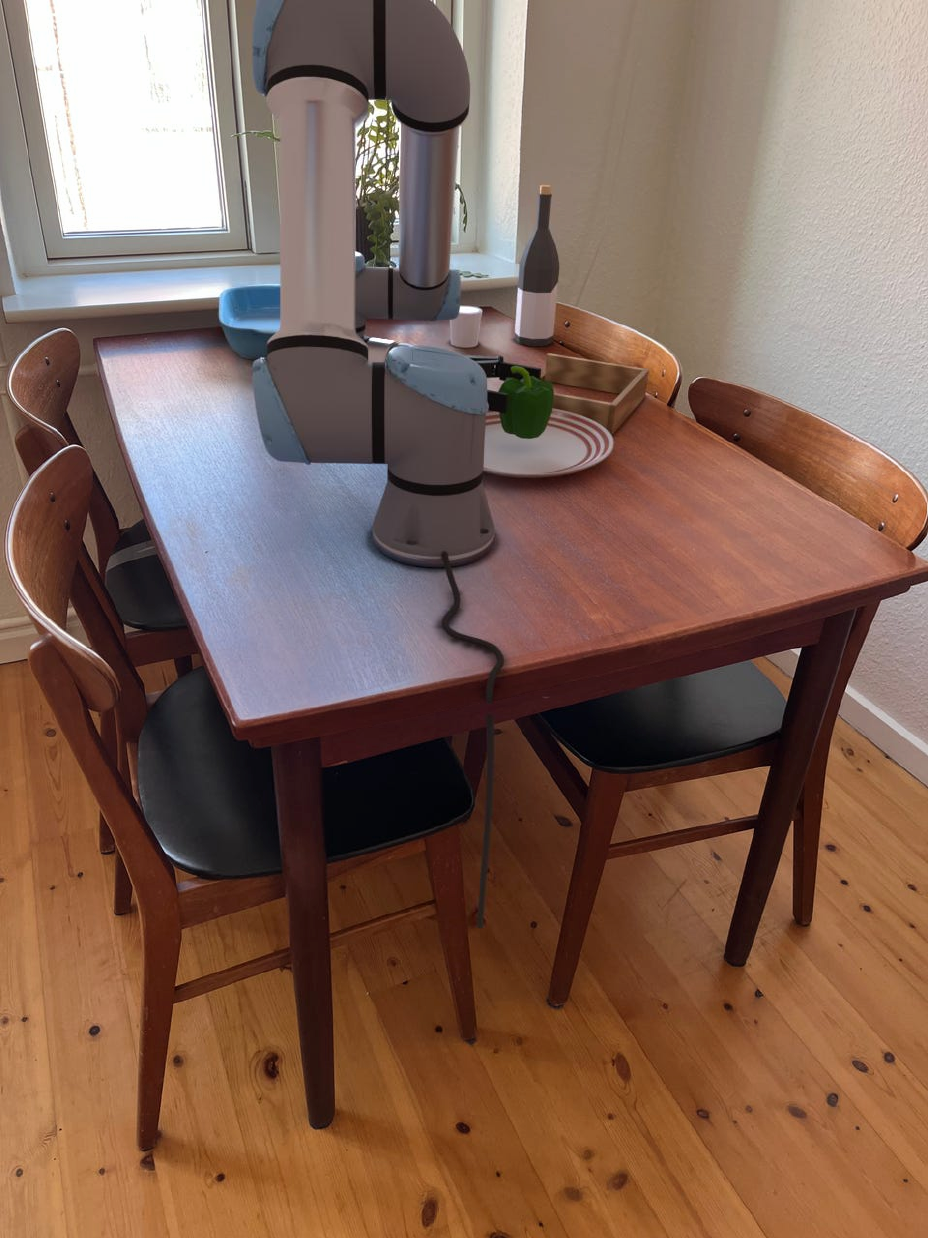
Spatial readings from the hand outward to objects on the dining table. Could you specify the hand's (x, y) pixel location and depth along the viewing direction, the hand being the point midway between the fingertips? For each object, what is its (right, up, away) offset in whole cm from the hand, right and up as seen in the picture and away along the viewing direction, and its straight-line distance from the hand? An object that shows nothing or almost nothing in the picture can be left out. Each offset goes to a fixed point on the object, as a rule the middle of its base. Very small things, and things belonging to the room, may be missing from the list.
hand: (524, 390), depth 138 cm
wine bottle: (+6, +25, +59) cm, 64 cm away
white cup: (-9, +23, +55) cm, 61 cm away
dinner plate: (0, -9, +5) cm, 10 cm away
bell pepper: (0, -6, +4) cm, 7 cm away
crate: (+10, +4, +26) cm, 28 cm away
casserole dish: (-47, +23, +52) cm, 73 cm away
